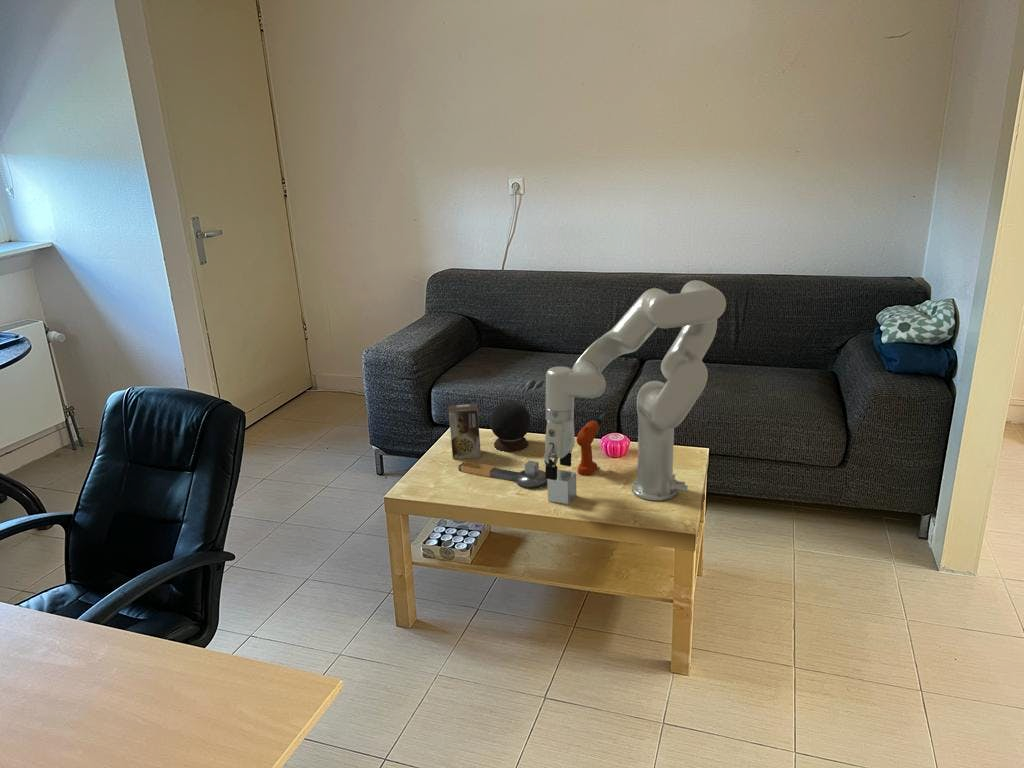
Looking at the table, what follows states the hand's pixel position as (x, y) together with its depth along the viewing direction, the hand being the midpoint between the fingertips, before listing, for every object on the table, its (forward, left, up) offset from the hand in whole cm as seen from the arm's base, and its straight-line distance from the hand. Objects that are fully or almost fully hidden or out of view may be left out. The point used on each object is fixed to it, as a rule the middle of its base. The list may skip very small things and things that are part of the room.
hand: (558, 472), depth 199 cm
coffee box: (+39, -16, -8) cm, 43 cm away
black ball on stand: (+29, -29, -8) cm, 42 cm away
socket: (-1, -1, -8) cm, 8 cm away
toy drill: (-1, -24, -8) cm, 26 cm away
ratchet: (+21, -7, -8) cm, 23 cm away
